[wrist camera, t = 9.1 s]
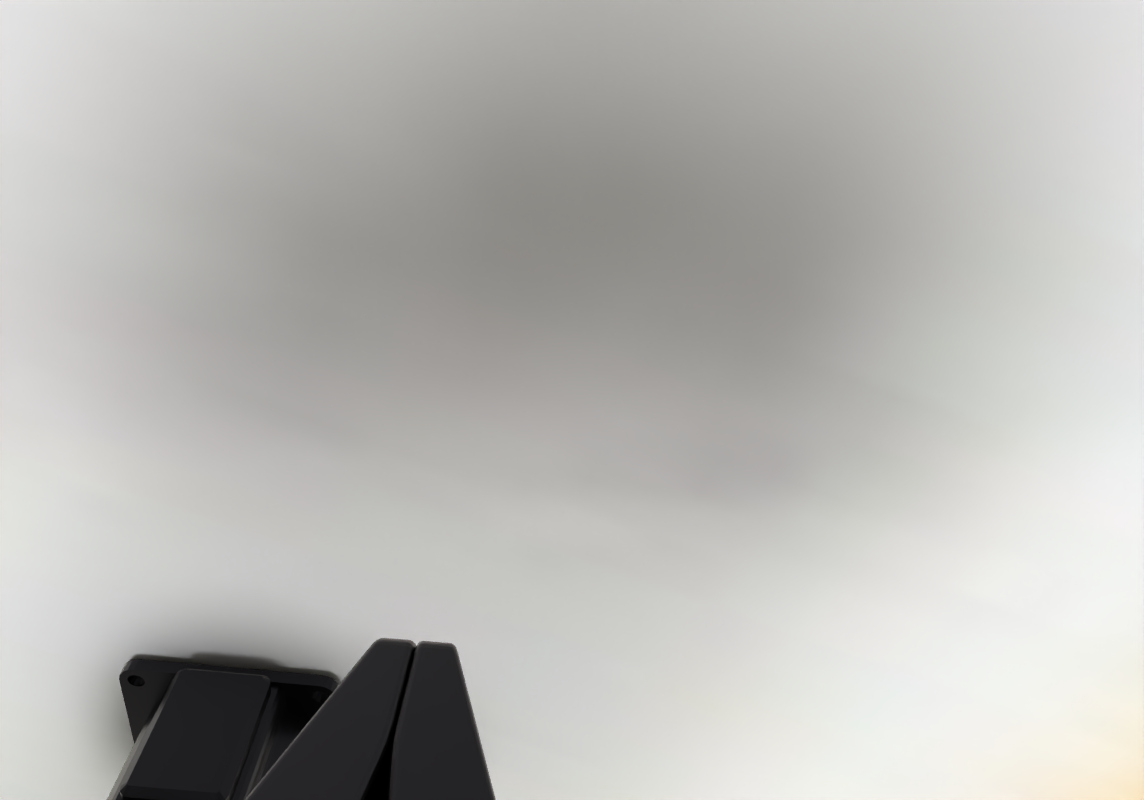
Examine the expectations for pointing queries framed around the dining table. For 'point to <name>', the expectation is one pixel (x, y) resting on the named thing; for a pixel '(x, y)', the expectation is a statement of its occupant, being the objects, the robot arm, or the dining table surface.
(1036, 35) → the dining table surface
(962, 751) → the dining table surface
